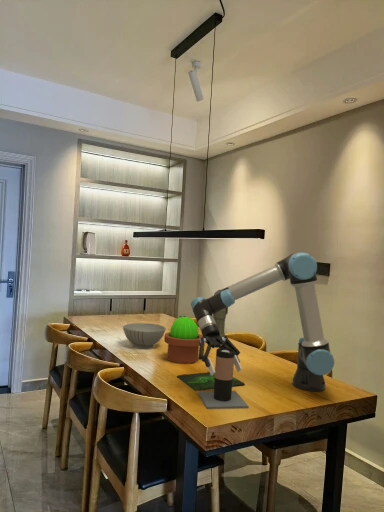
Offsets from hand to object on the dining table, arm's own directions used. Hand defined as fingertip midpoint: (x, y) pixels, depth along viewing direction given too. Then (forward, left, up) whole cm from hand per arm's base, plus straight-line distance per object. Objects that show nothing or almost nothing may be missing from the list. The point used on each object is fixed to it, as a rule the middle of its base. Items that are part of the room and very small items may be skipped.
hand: (226, 372), depth 158 cm
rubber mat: (+1, -2, -12) cm, 12 cm away
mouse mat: (0, -27, -13) cm, 30 cm away
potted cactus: (+7, -63, -12) cm, 64 cm away
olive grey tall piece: (-25, -105, -12) cm, 109 cm away
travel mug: (+1, -2, -12) cm, 12 cm away
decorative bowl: (+27, -93, -12) cm, 97 cm away
